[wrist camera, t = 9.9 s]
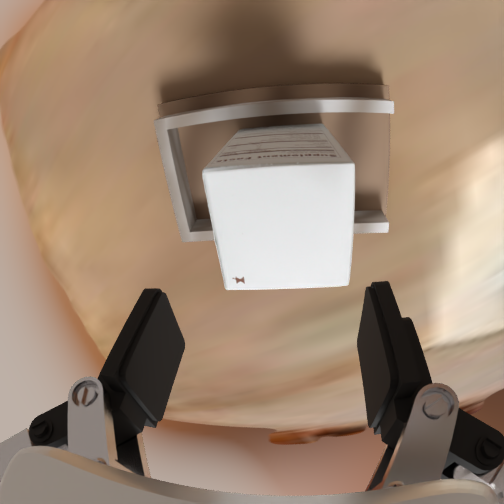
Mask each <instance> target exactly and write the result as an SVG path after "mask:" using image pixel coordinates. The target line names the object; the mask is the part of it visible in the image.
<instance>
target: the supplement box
mask: <svg viewBox="0 0 504 504" xmlns="http://www.w3.org/2000/svg"><path fill="white" fill-rule="evenodd" d="M202 177H203V182H204V188H205V193H206V197H207V202H208V208H209V213H210V218H211V222H212V228H213V234H214V240H215V244H216V247H217V252H218V257H219V261H220V266H221V271H222V275H223V280H224V286H225V289H226V290H259V289H290V288H315V287H337V286H346V285H348V284H349V279H350V271H351V261H352V248H353V233H354V210H355V163H354V162H353V161H352V160H351V159H350V157H349V156H348V154H347V153H346V152H345V151H344V149H343V148H342V147H341V145H340V144H339V143H338V141H337V140H336V139H335V138H334V137H333V135H332V134H331V133H330V132H329V130H328V129H327V128H326V127H325V126H324V125H323V124H302V125H284V126H270V127H258V128H248V129H240V130H239V131H238V132H237V133H236V134H235V135H234V136H233V137H232V138H231V139H230V140H229V141H228V142H227V143H226V145H225V146H224V147H223V148H222V149H221V150H220V151H219V152H218V154H217V155H216V156H215V157H214V158H213V159H212V160H211V162H210V163H209V164H208V165H207V166H206V167H205V168H204V169H203V171H202Z"/></svg>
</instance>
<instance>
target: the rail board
mask: <svg viewBox="0 0 504 504" xmlns="http://www.w3.org/2000/svg"><path fill="white" fill-rule="evenodd" d="M158 110H159V115H160V118H159V119H156V120H154V125H155V130H156V134H157V139H158V144H159V149H160V153H161V158H162V162H163V167H164V171H165V175H166V180H167V184H168V188H169V192H170V196H171V201H172V205H173V209H174V212H175V216H176V220H177V224H178V228H179V232H180V236H181V239H182V242H193V241H210V240H214V234H213V228H212V222H211V218H210V213H209V208H208V202H207V197H206V193H205V188H204V182H203V177H202V171H203V169H204V168H205V167H206V166H207V165H208V164H209V163H210V162H211V160H212V159H213V158H214V157H215V156H216V155H217V154H218V152H219V151H220V150H221V149H222V148H223V147H224V146H225V145H226V143H227V142H228V141H229V140H230V139H231V138H232V137H233V136H234V135H235V134H236V133H237V132H238V131H239V130H240V129H248V128H258V127H270V126H284V125H302V124H323V125H324V126H325V127H326V128H327V129H328V130H329V132H330V133H331V134H332V135H333V137H334V138H335V139H336V140H337V141H338V143H339V144H340V145H341V147H342V148H343V149H344V151H345V152H346V153H347V154H348V156H349V157H350V159H351V160H352V161H353V162H354V163H355V210H354V233H353V234H356V233H383V232H388V228H389V221H388V220H387V218H386V211H387V199H388V184H389V163H390V113H392V114H394V101H391V100H390V98H389V86H388V85H376V84H344V83H329V84H297V85H281V86H269V87H258V88H249V89H241V90H233V91H226V92H219V93H213V94H207V95H201V96H195V97H190V98H185V99H180V100H175V101H170V102H166V103H162V104H158Z"/></svg>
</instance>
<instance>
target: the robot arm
mask: <svg viewBox="0 0 504 504" xmlns="http://www.w3.org/2000/svg"><path fill="white" fill-rule="evenodd" d="M357 347H358V354H359V360H360V366H361V373H362V380H363V387H364V395H365V403H366V411H367V420H368V426H369V427H370V428H372V427H373V428H374V434H375V435H376V434H381V438H382V441H383V442H384V443H386V446H385V448H384V451H383V453H382V456H381V458H380V460H379V463H378V465H377V467H376V469H375V471H374V473H373V475H372V478H371V480H370V482H369V484H368V486H367V488H366V490H365V492H355V493H347V494H334V495H316V496H269V495H251V494H240V493H230V492H221V491H214V490H207V489H200V488H194V487H189V486H184V485H179V484H174V483H169V482H165V481H160V480H156V479H152V478H151V476H150V472H149V467H148V463H147V458H146V454H145V448H144V443H143V438H142V433H141V432H142V431H143V428H144V426H149V427H154V428H156V426H157V422H158V421H161V420H162V418H163V415H164V412H165V409H166V405H167V402H168V399H169V396H170V392H171V389H172V386H173V383H174V380H175V377H176V374H177V371H178V367H179V364H180V361H181V358H182V355H183V352H184V349H185V341H184V338H183V336H182V333H181V331H180V328H179V326H178V323H177V321H176V318H175V316H174V313H173V311H172V308H171V306H170V303H169V300H168V298H167V295H166V293H164V292H162V291H161V289H144V290H143V292H142V294H141V295H140V297H139V299H138V301H137V303H136V304H135V306H134V308H133V310H132V312H131V314H130V315H129V317H128V319H127V321H126V323H125V325H124V327H123V329H122V330H121V332H120V334H119V336H118V338H117V340H116V342H115V344H114V346H113V348H112V350H111V352H110V354H109V356H108V358H107V360H106V362H105V364H104V366H103V368H102V370H101V372H100V375H99V377H98V379H96V378H94V377H84V378H82V379H80V380H78V381H77V382H75V384H74V385H73V386H72V387H71V389H70V392H69V396H68V401H66V402H64V403H63V404H61V405H59V406H57V407H55V408H53V409H51V410H49V411H47V412H45V413H43V414H41V415H39V416H38V417H36V418H35V419H34V420H33V421H32V423H31V425H30V428H29V430H28V429H27V428H26V429H25V430H23V431H21V432H19V433H18V434H16V435H14V436H12V437H11V438H9V439H7V440H5V441H4V442H2V443H0V504H504V436H503V435H502V434H501V433H500V432H499V431H497V430H496V429H494V428H492V427H490V426H489V425H487V424H485V423H484V422H482V421H480V420H478V419H477V418H475V417H473V416H471V415H470V414H468V413H466V412H465V411H463V410H461V409H460V408H459V401H458V398H457V395H456V394H455V392H454V391H453V390H452V389H451V388H450V387H449V386H447V385H444V384H441V383H432V380H431V377H430V373H429V370H428V367H427V363H426V360H425V357H424V354H423V351H422V348H421V345H420V342H419V339H418V336H417V333H416V330H415V327H414V324H413V322H412V320H411V319H410V318H409V317H406V318H402V317H401V314H400V311H399V308H398V305H397V303H396V300H395V297H394V294H393V292H392V289H391V286H390V284H389V282H388V281H383V282H372V284H371V287H366V291H365V297H364V304H363V310H362V316H361V322H360V327H359V333H358V338H357ZM440 479H442V480H440Z"/></svg>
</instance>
